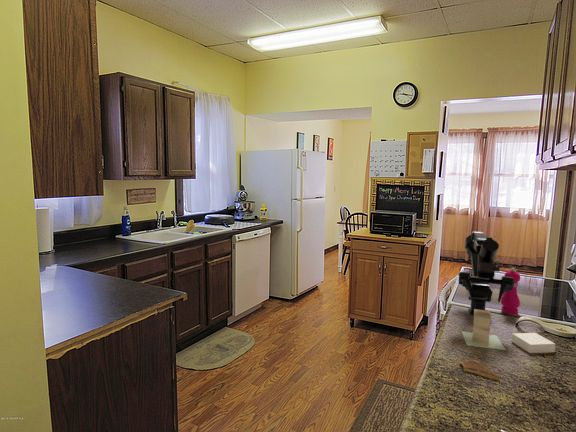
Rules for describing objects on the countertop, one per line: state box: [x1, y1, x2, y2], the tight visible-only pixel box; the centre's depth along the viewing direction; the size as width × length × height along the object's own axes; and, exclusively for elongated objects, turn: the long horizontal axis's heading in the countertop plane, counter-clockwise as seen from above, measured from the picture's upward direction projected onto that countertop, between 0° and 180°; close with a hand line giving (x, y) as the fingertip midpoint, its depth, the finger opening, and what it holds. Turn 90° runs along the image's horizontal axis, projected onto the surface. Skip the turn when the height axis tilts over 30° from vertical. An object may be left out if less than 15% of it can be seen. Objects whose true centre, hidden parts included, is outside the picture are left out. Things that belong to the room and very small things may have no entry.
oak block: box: [472, 309, 492, 346], centre depth 133 cm, size 5×5×11 cm
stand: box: [511, 332, 556, 354], centre depth 131 cm, size 9×9×3 cm
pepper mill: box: [500, 267, 521, 315], centre depth 164 cm, size 7×7×20 cm
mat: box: [461, 330, 506, 351], centre depth 136 cm, size 12×12×1 cm
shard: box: [459, 359, 502, 381], centre depth 113 cm, size 11×8×2 cm
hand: (484, 300), depth 140 cm, fingers open, 9 cm apart
